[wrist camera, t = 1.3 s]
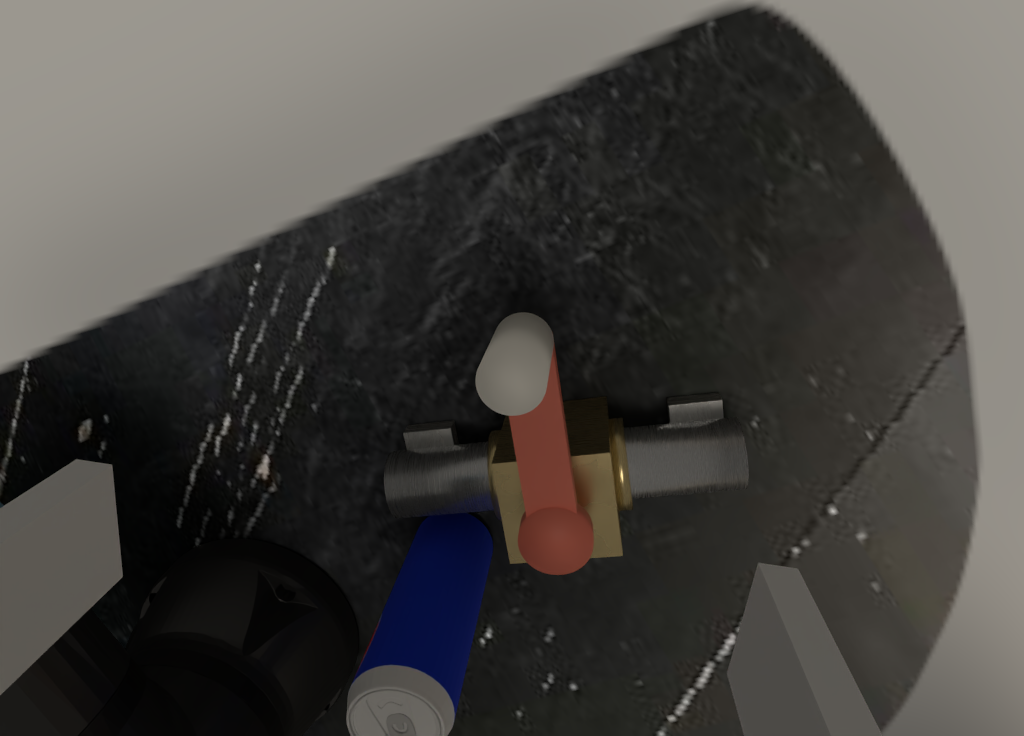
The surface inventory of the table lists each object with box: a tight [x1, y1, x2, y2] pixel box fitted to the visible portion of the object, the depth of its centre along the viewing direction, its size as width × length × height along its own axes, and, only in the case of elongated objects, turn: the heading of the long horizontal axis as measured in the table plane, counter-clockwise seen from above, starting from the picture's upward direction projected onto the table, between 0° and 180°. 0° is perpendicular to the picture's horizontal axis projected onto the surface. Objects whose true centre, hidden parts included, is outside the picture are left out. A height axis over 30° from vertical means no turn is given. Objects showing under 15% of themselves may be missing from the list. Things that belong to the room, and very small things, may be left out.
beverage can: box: [346, 513, 493, 736], centre depth 38 cm, size 5×5×15 cm
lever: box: [475, 312, 594, 575], centre depth 29 cm, size 13×4×6 cm, turn 9°
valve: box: [384, 392, 749, 564], centre depth 37 cm, size 20×6×9 cm, turn 99°
